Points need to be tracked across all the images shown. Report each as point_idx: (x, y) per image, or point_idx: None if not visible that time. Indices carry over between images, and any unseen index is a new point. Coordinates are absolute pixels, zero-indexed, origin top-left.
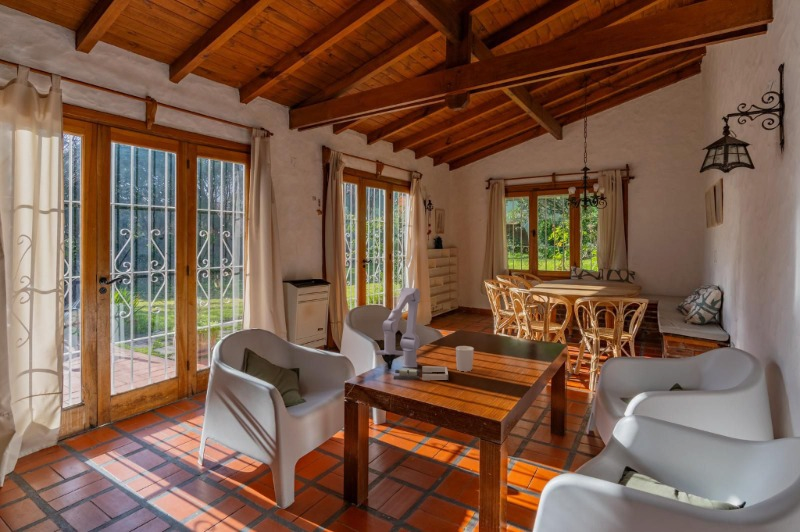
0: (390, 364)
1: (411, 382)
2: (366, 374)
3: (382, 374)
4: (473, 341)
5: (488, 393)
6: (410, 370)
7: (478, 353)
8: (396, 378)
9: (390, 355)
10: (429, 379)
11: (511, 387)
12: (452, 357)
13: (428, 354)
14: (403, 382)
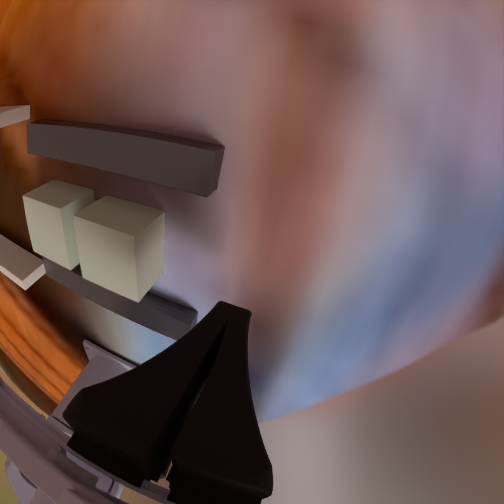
0: (200, 342)
1: (86, 47)
2: (439, 341)
3: (316, 314)
4: (42, 402)
5: None
6: (56, 237)
7: (2, 346)
8: (193, 141)
9: (151, 473)
10: (3, 107)
11: None
12: (29, 357)
13: None
14: (143, 38)
